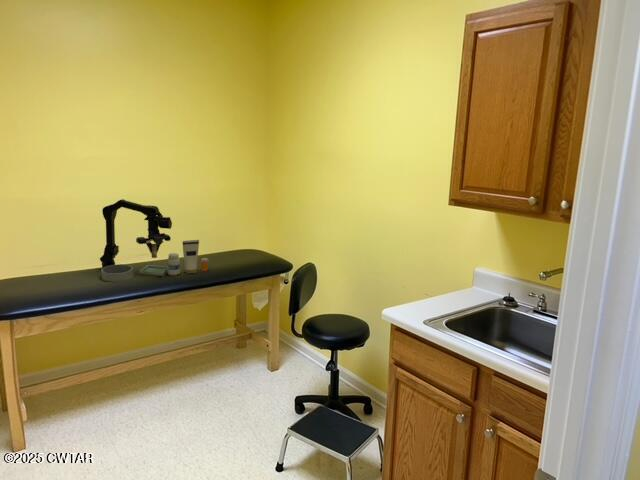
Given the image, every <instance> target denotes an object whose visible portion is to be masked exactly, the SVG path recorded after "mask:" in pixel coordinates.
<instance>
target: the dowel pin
mask: <svg viewBox="0 0 640 480" xmlns="http://www.w3.org/2000/svg"><path fill="white" fill-rule="evenodd" d="M151 246H152V253H150V254H151V259H157V258H158V252H157V244H156V243H152V245H151Z"/></svg>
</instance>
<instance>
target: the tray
mask: <svg viewBox="0 0 640 480" xmlns="http://www.w3.org/2000/svg"><path fill="white" fill-rule="evenodd" d="M166 273H167V265H166V266H165V265H164V266H163V265H154V264H153V265H152V264H147V265H145V266H144V267H143V268H141V269H140V270H138V274H139V275H148V276H149V275H151V276H156V277H157V276H163V275H164V274H165V275H167V274H168V273H167V274H166ZM165 275H164V276H165ZM164 276H163V277H164Z"/></svg>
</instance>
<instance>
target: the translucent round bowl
mask: <svg viewBox="0 0 640 480" xmlns="http://www.w3.org/2000/svg"><path fill="white" fill-rule="evenodd" d="M100 271H101V280H102V281H105V282H113V283H117V282H125V281H128V280H131V279H132V278H134V267H133V266H132V265H129V264H119V263H118V264H115V265H110V266H105V267H104V268H102V267H101V269H100Z"/></svg>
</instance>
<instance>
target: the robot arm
mask: <svg viewBox="0 0 640 480" xmlns="http://www.w3.org/2000/svg"><path fill="white" fill-rule="evenodd" d="M122 208H123V209H127V210H131V211H134V212H139V213H141V214H143V215H144V216H146V217H145V218H144V219H143V220H144V221H147V232H148V233H147V234H148V235H147V237H146V238H145V237H144V236H140V237H138V236H137V237H136V238H135V242H136V244H139V245H144V244H145V245H146V246H147V248H148V250H149V252H150V254H151V253H152V246H151V245H152V244H157V253H158V252H159V249H160V247H161V245H162V244H163V243H164V241H166V242H169V241H171V236H170V235H169V234H166V233H165V232H162V233H161V232H160V229H168V230H169V229H171V228H172V227H173V226H172V225H173V222H172V219H171V217H169V216H165V217H164V215H163V214H162V213H161V211H160V209H159V207H158V206H156V205H144V204H141V203H137V202H133V201H129V200H126V199H123V198H121V199H119V200H118V201H116V202H115V203H112V204H110V205H109V204H108V205H107V206H106V205H105V206H104V207H103V208H102V211H101V212H102V215H103V216H102V217H103V219H104V220H105V242H106V245H105V247H104V250H103V255H102V256H101V257H99V261H100V262H101V269H102V268H104V267H105V266H110V265H116V262H115V258H116V256H117V255H118V254H119V252H120V250H119V249H120V246H119V245H117V244H116V232H115V231H116V230H115V228H116V227H115V221H116V220H115V219H116V217H117V213H118V210H120V209H122ZM152 242H153V243H152Z"/></svg>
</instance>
